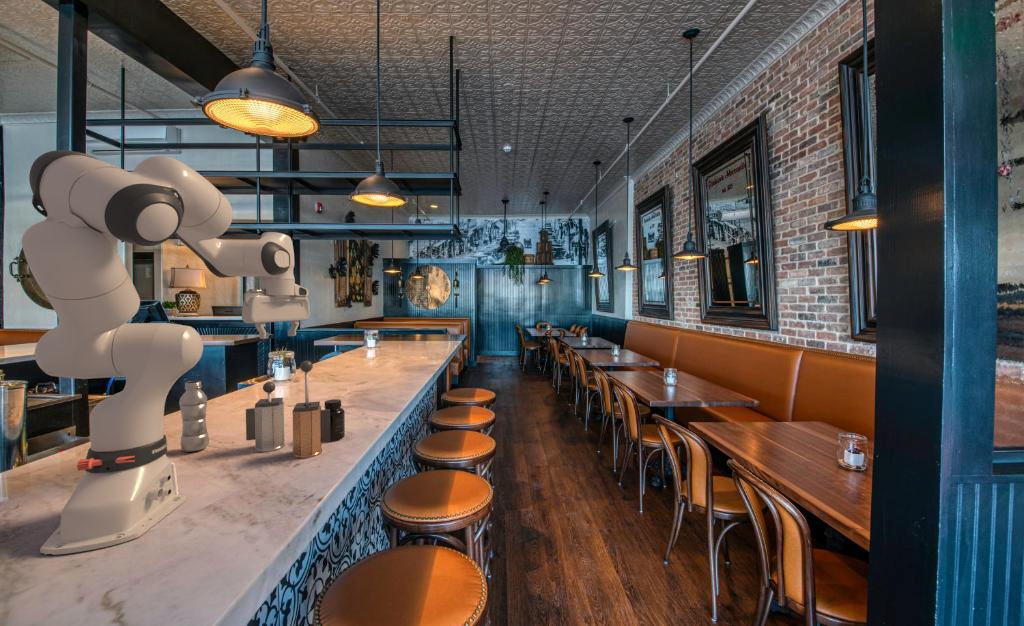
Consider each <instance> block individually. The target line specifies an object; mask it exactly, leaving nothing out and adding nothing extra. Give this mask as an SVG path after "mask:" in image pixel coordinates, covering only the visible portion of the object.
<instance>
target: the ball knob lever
mask: <svg viewBox="0 0 1024 626" xmlns="http://www.w3.org/2000/svg"><path fill="white" fill-rule="evenodd" d="M313 367H314V365H313V363H312V362H311V361H310V360H304V361H302V362H300V365H299V369H300V370H301V371H302V372H303V373H304V397H305V398H304V400H305V401H304V403H305V406H308V405H309V402H310V394H309V393H310V391H309V390H310V389H309V387H310V386H309V372H311V371H312V369H313Z"/></svg>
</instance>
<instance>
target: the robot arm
mask: <svg viewBox="0 0 1024 626" xmlns="http://www.w3.org/2000/svg"><path fill="white" fill-rule="evenodd" d="M28 177H29V178H28V179H29V186H30V188H31V192H32V198H31V204H32V206H33V208H34V210H36V211H37V212H38V213H39V214H41V216H44V217H45V219H44V220H41V221H39V222H36V223H35V224H32V225H31V226H29V227H28V228H27V229H26V230H25V231H24V233H23V235H22V238H21V246H22V250H23V254H24V257H25V260H26V262H27V264H28V267H29V269H30V272H31V273H32V275H33V278H34V279H35V282H37V283H36V284H37V285H38V286H39V288H40V289H41V292H43V294H44V296H45V298H47V301H48V302H49V303H50V305H51V306H52V308H53V310H54V312H55V314H56V316H57V318H58V324H57V325H56V327H54V328H51V329H49V330H48V331H47V332H46V333H44V334H43V335H42V336H40V338H39V340H38V342H37V343H36V346H35V349H34V359H35V362H36V364H37V365H38V368H40V369H41V370H42V372H44V373H45V374H46V375H48V376H51V377H58V378H69V379H80V380H85V379H88V380H89V379H103V378H104V379H106V378H121V377H122V378H123V377H124V378H125V385H124V388H123V390H121V391H120V392H117V393H114V394H112V395H111V396H108V397H106V398H104V399H102V400H100V401H99V402H98V403H97V404H96V405H95V406H94V407H93V408H92V410H91V411H90V414H89V438H90V448H88V449H87V454H86V457H85V458H82V459H79V460H78V461H77V463H76V470H77V471H85V472H84V474H83V476H82V478H81V479H80V480H79V482H78V484H77V485H76V487H75V488H74V490H73V491H72V494H71V495H70V497H69V498H68V500H67V502H66V503H65V505H64V507H63V508H62V510H61V515H60V523H59V526H58V527H57V528H56V529H55V531H53V533H52V534H51V535H50V536H49V537H48V538H47V539H46V541H45V542H44V543H43V544H42V545H41V547H40V548H39V550H40V551H39V553H40V552H41V553H45V554H44V555H47V554H52V555H54V556H57V555H65V554H74V553H80V552H86V551H92V550H98V549H102V548H107V547H111V546H115V545H119V544H122V543H125V542H129V541H132V540H134V539H137V538H139V537H141V536H142V535H144V534H145V533H146V532H147V531H149V530H150V529H151V528H153V527H154V526H155V525H157V524H158V523H159V522H160V521H161V520H163V519H164V518H165V517H167V516H168V515H169V514H170V513H172V512H173V511H174V510H176V509H177V508H178V507H180V505H182V504H183V503H185V502H186V501H187V495H186V494H184V493H179V487H178V479H177V478H178V476H177V469H176V464H175V462H173V461H172V460H171V459H170V458H169V457H168V456H167V454H166V453H167V452H168V441H167V435H165V433H164V417H165V406H166V400H167V396H168V395H169V393H170V390H171V389H172V387H173V386H174V384H175V383H176V382H177V381H178V379H179V378H180V377H182V376H183V375H184V374H185V373H187V372H188V371H190V370H191V369H193V368H194V367H195V366H196V365H197V364H198V362H199V361H200V360H201V358H202V357H203V351H204V342H203V339H202V337H201V335H200V334H199V332H198V331H197V330H196V329H195V328H194V327H192V326H189V325H183V324H177V323H169V322H147V323H146V322H144V323H143V322H139V323H137V322H135V323H133V322H132V323H130V322H129V321H130V320H131V319H133V318H134V317H135V315H136V314H137V313H138V312H139V310H140V306H141V298H140V295H139V294H138V291H137V289H136V286H135V285H134V283H133V281H132V279H131V276H130V274H129V273H128V270H127V268H126V266H125V264H124V263H123V260H122V259H121V257H120V255H119V250H118V244H119V243H118V241H122V242H125V243H126V244H131V245H136V246H142V247H154V246H158V245H160V244H163V243H164V242H166V241H168V240H169V239H170V238H172V237H173V236H175V237H176V238H177V239H178V240H179V241H180V242H181V243H182V244H183V245H185V246H186V247H187V249H189V250H190V251H191V252H193V253H194V254H195V255H196V256H197V257H198V258H199V259H200V260H201V261H202V262H203V263H204V265H205V267H206V268H207V269H208V271H210V273H211V274H213V275H214V276H215V277H217V278H220V279H221V278H222V279H224V278H236V277H252V278H253V277H255V278H257V277H259V288H258V289H255V288H250V289H248V290H246V291H245V292H244V294H243V303H242V310H241V311H242V312H241V319H242V321H243V323H245V324H255V325H254V326H255V328H256V330H257V332H258V333H259V335H258V337H259V339H260V340H267V339H269V338H270V336H269V335H270V332H268V331H266V329H265V327H266V323H277V322H289V324H290V327H289V329H287V336H288V337H296V335H297V329H298V327H299V325H300V321H307V320H309V318H310V316H311V310H310V309H311V307H310V299H309V298H308V296H309V295H310V291H309V289H308V288H306V287H304V286H301V285H299V284H297V283H296V280H295V279H296V278H295V275H294V268H295V251H294V245H293V241H292V238H291V236H289V235H287V234H285V233H283V232H278V231H265V232H263V233H262V234H261V236H260V238H259V239H256V240H255V239H254V240H251V239H250V240H247V239H246V240H245V239H243V240H240V239H239V240H233V239H221V238H218V237H221V236H222V235H224V233H226V231H227V230H228V229H229V228H230V226H231V225H232V222H233V217H234V216H233V214H234V213H233V207H232V205H231V202H230V201H229V200H228V199H227V197H226V196H225V195H224V194H223V193H222V192H221V191H220V190H219V189H218V188H217V187H216V186H214V184H212V183H211V182H210V181H209V180H208V179H206V178H205V177H204V176H203V175H201V174H200V173H199V172H198V171H196V170H194V169H193V168H191V167H190V166H189V165H187V164H185V163H184V162H182V161H180V160H178V159H176V158H174V157H172V156H166V155H156V156H151V157H150V156H149V157H148V158H146V159H143V160H142V161H140V162H138V164H137V165H136V166H135V168H134V170H132V171H128V170H125V169H123V168H121V167H118V166H117V165H113V164H111V163H109V162H107V161H103V160H100V159H99V158H97V157H95V156H93V155H91V154H87V153H82V152H80V151H73V150H68V149H67V150H65V149H63V150H62V149H61V150H60V149H59V150H58V149H56V150H50V151H48V152H45V153H43V154H41V155H40V156H38V157H37V158H36V159H34V162H33V163H32V165H31V167H30V171H29V176H28ZM39 206H40V207H39ZM128 322H129V323H128ZM41 553H40V554H41ZM52 555H51V556H52Z"/></svg>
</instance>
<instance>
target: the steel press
mask: <svg viewBox="0 0 1024 626" xmlns="http://www.w3.org/2000/svg"><path fill="white" fill-rule="evenodd" d="M254 404H255V405H254V407H252V408H246V409H245V435H246V437H245V439H246V441H253V440H254V443H255V444H254V446H255V452H258V453H268V452H269V453H270V452H275V451H278V450H280V449H282V448H284V447H285V443H286V442H285V408H284V407H285V405H284V404H285V403H284V397H273V398H272V397H271V401H268V398H260V399H258V401H257V402H255V403H254Z"/></svg>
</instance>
